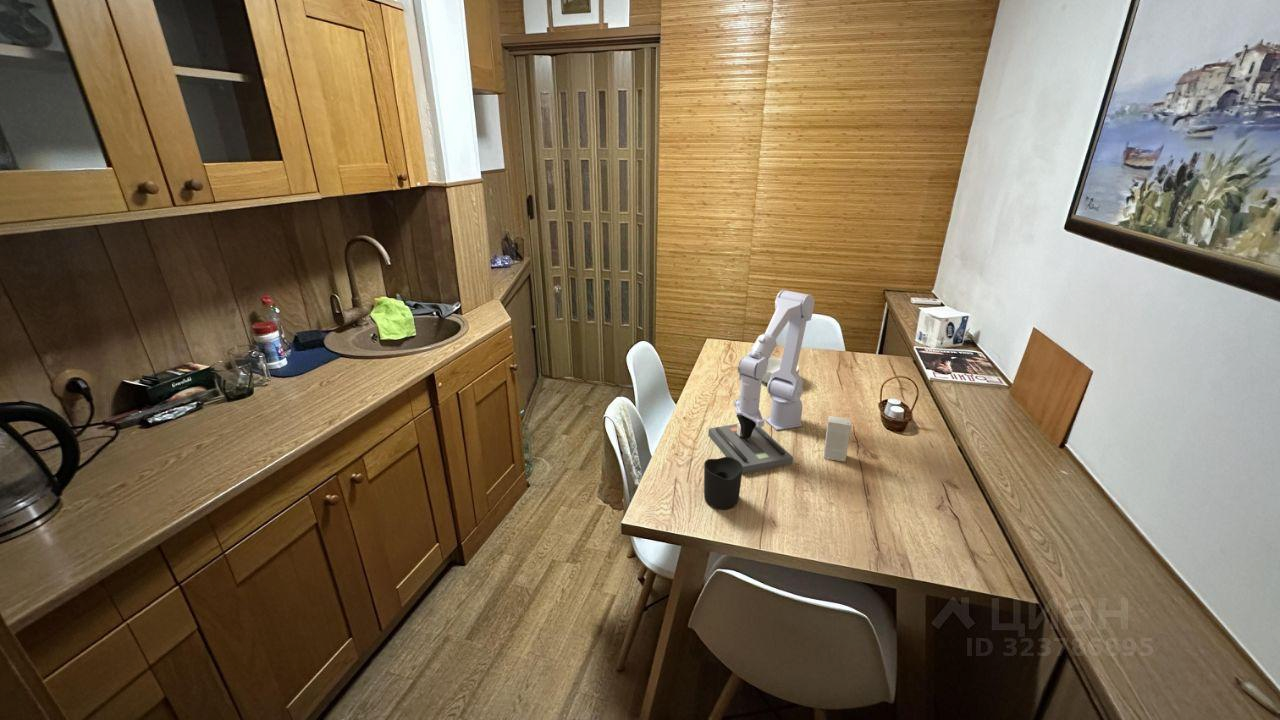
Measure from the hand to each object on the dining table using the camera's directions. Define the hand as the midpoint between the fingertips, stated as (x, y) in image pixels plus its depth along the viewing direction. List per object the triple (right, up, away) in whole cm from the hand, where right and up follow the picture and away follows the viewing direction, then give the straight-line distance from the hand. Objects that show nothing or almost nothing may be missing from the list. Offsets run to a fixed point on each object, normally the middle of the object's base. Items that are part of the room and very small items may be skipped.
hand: (746, 436), depth 148 cm
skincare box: (+25, -5, -4) cm, 26 cm away
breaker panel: (0, -4, 0) cm, 4 cm away
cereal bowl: (+21, +14, +46) cm, 52 cm away
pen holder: (-11, -13, -22) cm, 28 cm away
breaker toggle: (-1, 0, +2) cm, 2 cm away
